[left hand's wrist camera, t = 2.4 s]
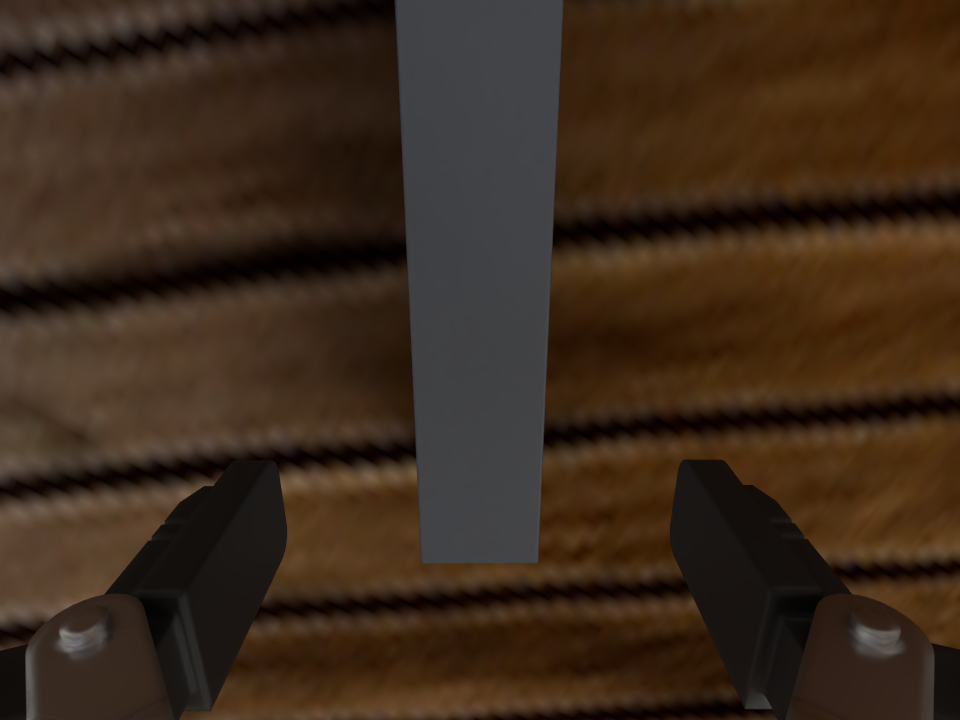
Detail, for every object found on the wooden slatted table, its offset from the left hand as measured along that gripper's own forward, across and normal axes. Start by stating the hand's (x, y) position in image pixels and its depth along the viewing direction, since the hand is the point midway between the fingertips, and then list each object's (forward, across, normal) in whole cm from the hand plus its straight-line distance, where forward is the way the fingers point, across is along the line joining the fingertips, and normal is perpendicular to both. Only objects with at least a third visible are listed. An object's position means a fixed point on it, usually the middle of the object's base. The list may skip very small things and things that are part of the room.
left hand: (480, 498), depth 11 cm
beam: (+12, 0, +23) cm, 26 cm away
